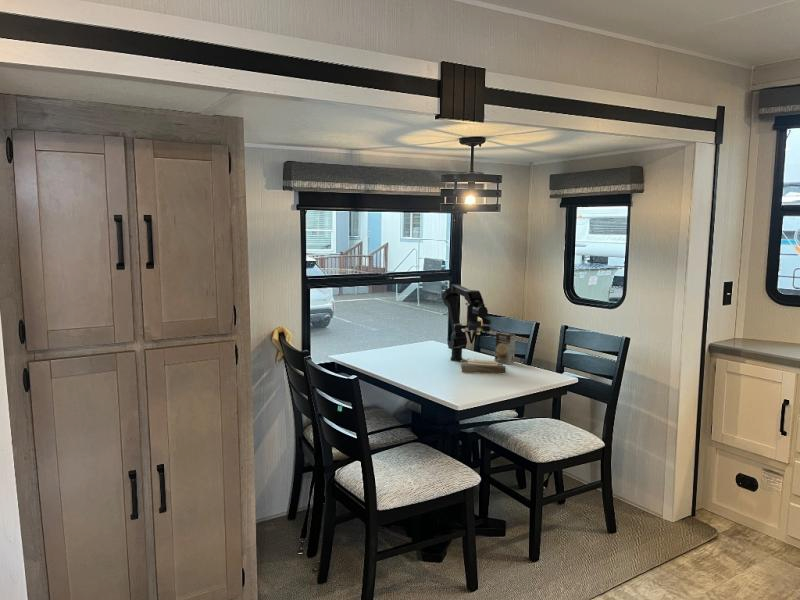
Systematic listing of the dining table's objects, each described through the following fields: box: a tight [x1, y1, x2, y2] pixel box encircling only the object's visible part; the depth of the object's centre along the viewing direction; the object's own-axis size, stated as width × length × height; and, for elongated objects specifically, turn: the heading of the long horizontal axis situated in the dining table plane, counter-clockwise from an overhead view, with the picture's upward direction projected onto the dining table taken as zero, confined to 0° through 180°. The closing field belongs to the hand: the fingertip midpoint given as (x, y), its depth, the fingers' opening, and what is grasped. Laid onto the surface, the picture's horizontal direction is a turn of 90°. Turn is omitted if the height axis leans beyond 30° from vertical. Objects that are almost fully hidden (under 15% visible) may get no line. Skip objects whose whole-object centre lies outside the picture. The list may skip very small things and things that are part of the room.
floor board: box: [460, 361, 506, 374], centre depth 309 cm, size 16×22×3 cm
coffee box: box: [494, 331, 517, 365], centre depth 325 cm, size 9×6×16 cm
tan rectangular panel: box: [467, 359, 498, 366], centre depth 311 cm, size 10×15×2 cm, turn 86°
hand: (471, 343), depth 315 cm, fingers closed
